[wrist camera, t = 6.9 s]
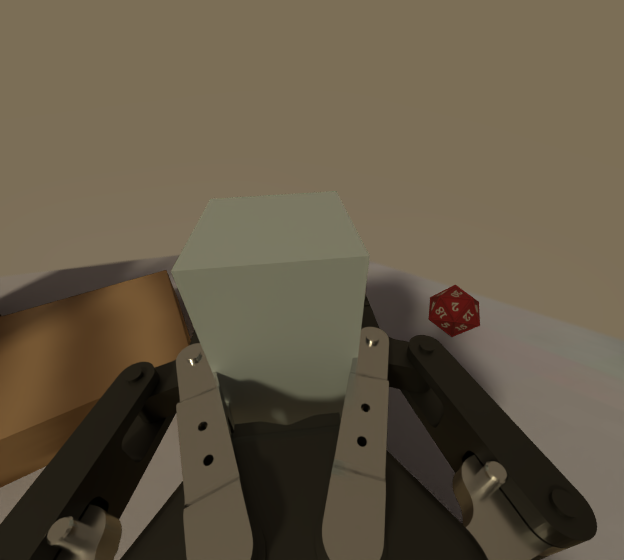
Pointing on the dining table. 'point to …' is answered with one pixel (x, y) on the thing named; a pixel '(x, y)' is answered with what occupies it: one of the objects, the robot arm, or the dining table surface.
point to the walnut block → (77, 362)
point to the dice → (454, 311)
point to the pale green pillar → (276, 301)
